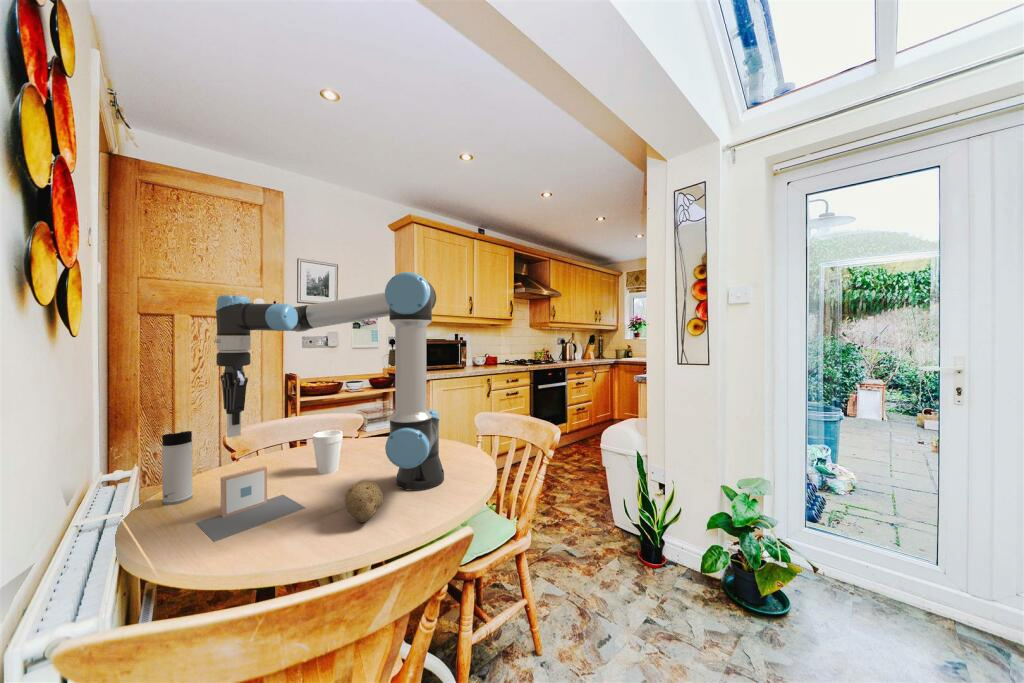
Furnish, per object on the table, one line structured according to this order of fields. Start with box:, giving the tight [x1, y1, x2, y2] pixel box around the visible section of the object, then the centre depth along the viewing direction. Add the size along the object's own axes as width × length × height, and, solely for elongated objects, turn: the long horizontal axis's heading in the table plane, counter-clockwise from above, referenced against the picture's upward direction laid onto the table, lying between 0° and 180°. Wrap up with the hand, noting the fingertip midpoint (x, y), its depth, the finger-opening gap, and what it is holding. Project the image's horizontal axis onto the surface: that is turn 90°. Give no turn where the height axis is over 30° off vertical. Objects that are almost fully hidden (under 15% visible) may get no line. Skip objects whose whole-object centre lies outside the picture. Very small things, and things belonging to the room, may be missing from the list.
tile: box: [220, 465, 268, 517], centre depth 97 cm, size 2×10×10 cm, turn 144°
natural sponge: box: [344, 480, 384, 523], centre depth 93 cm, size 9×9×10 cm
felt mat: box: [194, 494, 306, 543], centre depth 94 cm, size 14×20×1 cm
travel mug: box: [161, 430, 194, 507], centre depth 102 cm, size 6×7×20 cm
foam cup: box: [312, 429, 344, 475], centre depth 126 cm, size 10×9×13 cm
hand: (233, 435), depth 101 cm, fingers closed
